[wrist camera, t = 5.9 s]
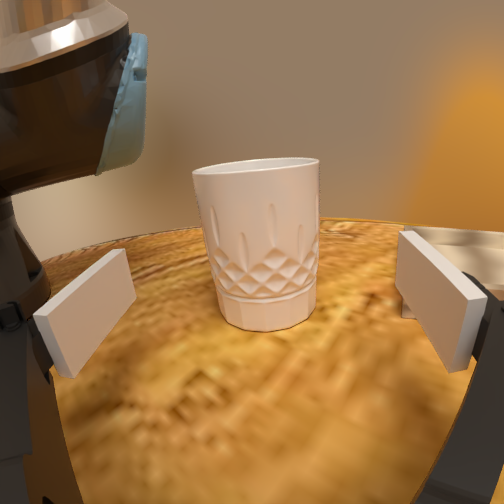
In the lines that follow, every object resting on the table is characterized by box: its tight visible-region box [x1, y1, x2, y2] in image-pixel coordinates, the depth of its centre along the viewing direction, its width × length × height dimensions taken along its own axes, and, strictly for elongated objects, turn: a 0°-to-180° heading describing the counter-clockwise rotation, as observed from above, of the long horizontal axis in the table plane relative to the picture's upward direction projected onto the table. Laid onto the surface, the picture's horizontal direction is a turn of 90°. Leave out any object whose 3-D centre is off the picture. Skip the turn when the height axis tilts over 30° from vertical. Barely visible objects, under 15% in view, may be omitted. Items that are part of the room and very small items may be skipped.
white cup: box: [192, 158, 320, 332], centre depth 21 cm, size 8×8×10 cm
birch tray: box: [402, 226, 504, 319], centre depth 22 cm, size 13×13×2 cm
